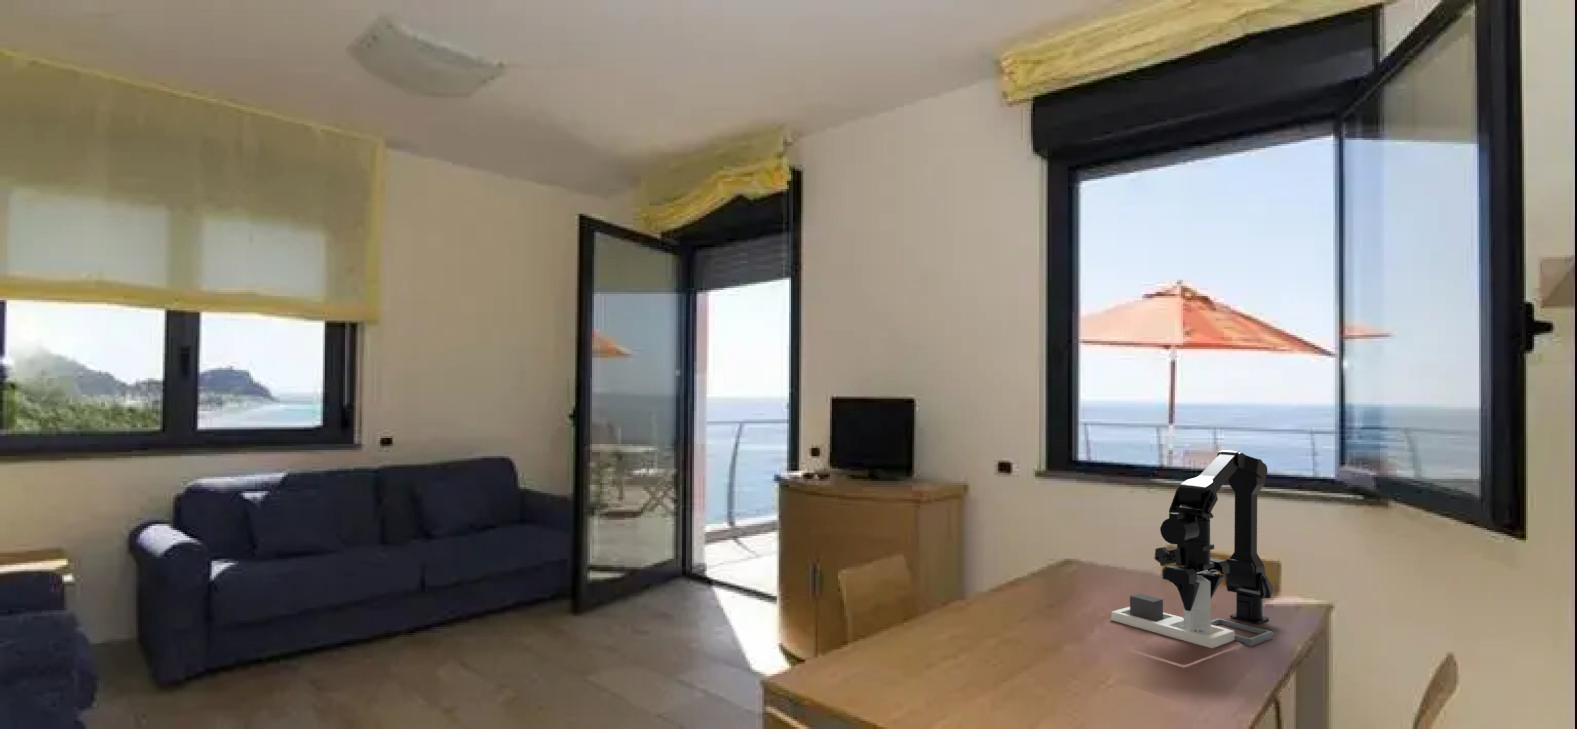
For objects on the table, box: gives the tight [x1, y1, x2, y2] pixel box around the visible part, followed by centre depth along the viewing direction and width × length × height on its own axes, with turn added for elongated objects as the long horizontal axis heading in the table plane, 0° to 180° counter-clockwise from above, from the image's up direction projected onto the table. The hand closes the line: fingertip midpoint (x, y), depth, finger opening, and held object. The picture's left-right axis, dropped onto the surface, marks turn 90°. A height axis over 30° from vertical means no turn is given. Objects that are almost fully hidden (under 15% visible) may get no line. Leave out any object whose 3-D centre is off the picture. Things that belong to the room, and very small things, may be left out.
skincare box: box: [1183, 575, 1212, 635], centre depth 177 cm, size 6×4×12 cm
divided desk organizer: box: [1110, 606, 1236, 649], centre depth 182 cm, size 10×24×2 cm, turn 35°
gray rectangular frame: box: [1211, 617, 1273, 647], centre depth 180 cm, size 10×12×2 cm
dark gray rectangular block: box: [1129, 593, 1164, 622], centre depth 187 cm, size 4×6×6 cm, turn 35°
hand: (1196, 607), depth 177 cm, fingers closed on skincare box, 7 cm apart
